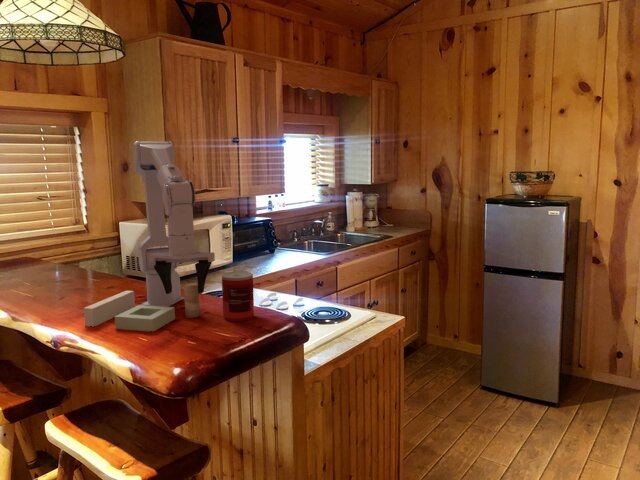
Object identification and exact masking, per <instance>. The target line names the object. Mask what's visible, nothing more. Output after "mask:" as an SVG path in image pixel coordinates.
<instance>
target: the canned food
mask: <svg viewBox="0 0 640 480" xmlns="http://www.w3.org/2000/svg"><path fill="white" fill-rule="evenodd" d="M221 295H222V296H221V297H222V313H223V314H222V315H223V318H224V319H225V321H228V320H229V321H230V322H235V321H238V322H246V321H250V320H252V319H253V318H254V314H255V303H254V301H255V298H254V276H253V273H252V272H249V271H243V270H241V271H237V270H235V271H230V272H229V271H228V272H224V273H222V275H221ZM249 319H250V320H249Z"/></svg>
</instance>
